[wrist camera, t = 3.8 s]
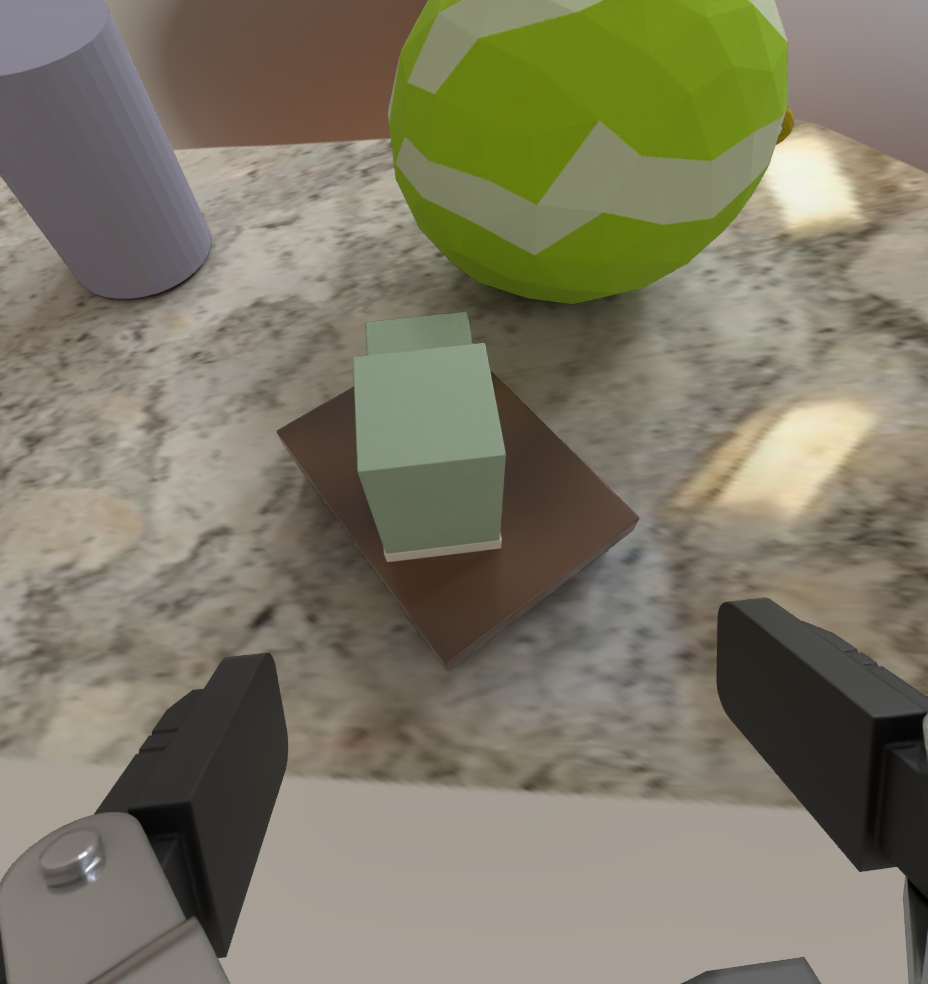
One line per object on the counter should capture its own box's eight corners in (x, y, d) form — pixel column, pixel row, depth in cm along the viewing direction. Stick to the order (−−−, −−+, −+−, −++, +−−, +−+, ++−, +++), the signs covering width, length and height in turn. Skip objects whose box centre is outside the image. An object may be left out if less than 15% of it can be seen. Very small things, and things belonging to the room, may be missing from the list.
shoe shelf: (295, 468, 36) (275, 430, 33) (453, 373, 39) (450, 330, 36) (450, 683, 30) (446, 665, 26) (623, 549, 33) (640, 517, 30)
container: (48, 286, 44) (-132, 62, 31) (126, 202, 49) (-2, -24, 36) (167, 315, 43) (29, 91, 30) (237, 225, 47) (144, -3, 34)
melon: (769, 374, 39) (1007, 9, 21) (393, 361, 40) (327, 6, 23) (724, 184, 49) (863, -174, 31) (421, 179, 50) (391, -169, 32)
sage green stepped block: (501, 548, 29) (508, 454, 22) (386, 562, 29) (354, 472, 21) (470, 362, 35) (467, 237, 27) (374, 372, 35) (346, 249, 27)
